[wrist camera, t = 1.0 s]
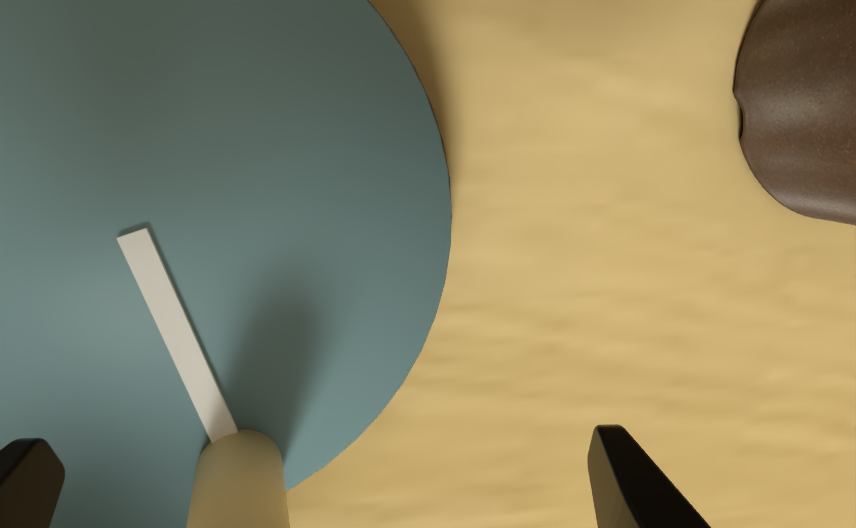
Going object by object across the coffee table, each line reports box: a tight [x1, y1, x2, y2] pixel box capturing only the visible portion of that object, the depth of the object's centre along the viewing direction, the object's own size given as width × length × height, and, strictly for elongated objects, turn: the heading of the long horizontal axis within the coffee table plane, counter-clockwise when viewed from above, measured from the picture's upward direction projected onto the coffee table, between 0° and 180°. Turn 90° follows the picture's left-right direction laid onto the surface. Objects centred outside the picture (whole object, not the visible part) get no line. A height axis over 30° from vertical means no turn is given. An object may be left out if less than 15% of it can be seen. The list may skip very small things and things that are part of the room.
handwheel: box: [0, 0, 451, 528], centre depth 14 cm, size 19×19×7 cm
